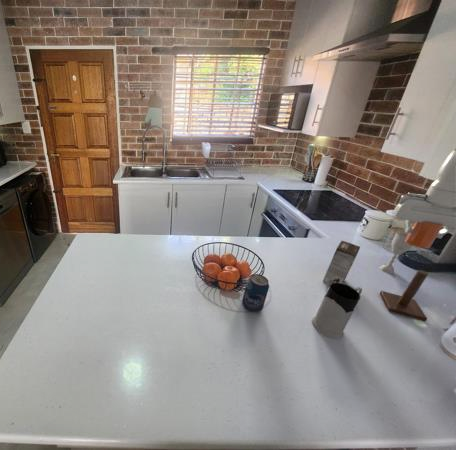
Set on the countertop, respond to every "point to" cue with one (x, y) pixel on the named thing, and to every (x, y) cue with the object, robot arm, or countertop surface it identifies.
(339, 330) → the glass holder
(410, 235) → the cup
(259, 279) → the soda can
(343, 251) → the coffee box
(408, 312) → the stand
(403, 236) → the chalice
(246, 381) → the countertop surface
